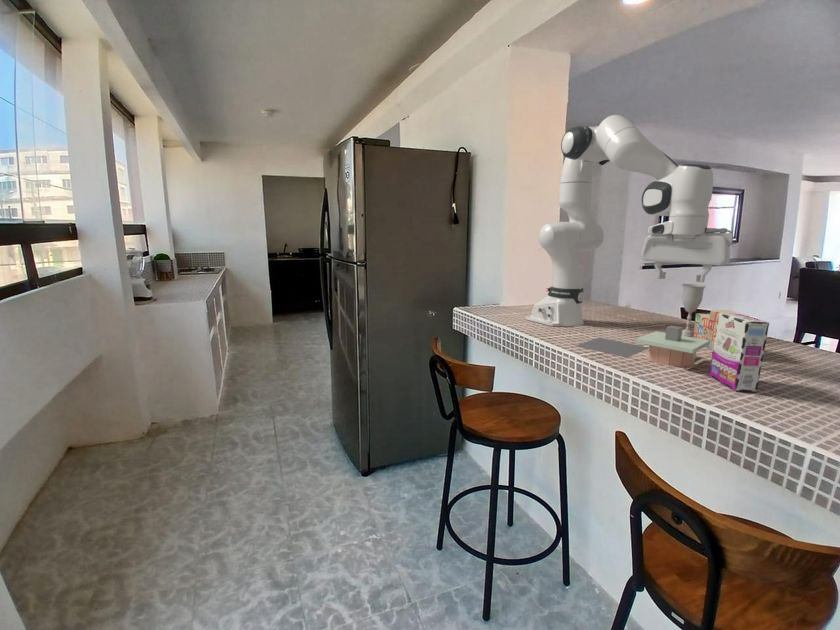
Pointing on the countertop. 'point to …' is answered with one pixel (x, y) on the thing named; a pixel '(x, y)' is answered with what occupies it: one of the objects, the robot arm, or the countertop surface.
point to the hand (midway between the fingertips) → (680, 280)
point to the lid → (673, 340)
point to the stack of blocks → (709, 325)
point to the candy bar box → (738, 351)
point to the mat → (612, 347)
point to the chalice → (691, 303)
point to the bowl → (671, 357)
